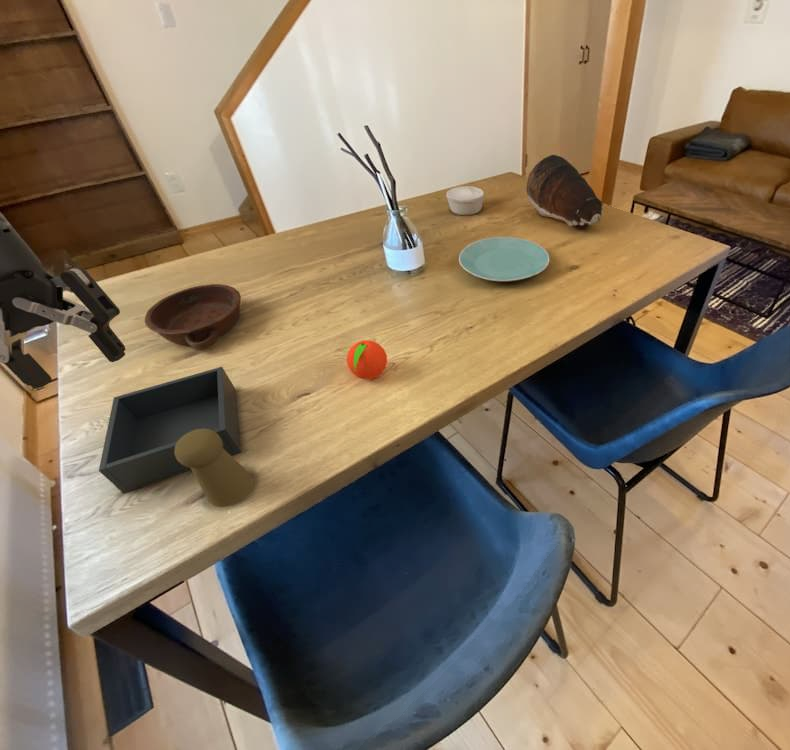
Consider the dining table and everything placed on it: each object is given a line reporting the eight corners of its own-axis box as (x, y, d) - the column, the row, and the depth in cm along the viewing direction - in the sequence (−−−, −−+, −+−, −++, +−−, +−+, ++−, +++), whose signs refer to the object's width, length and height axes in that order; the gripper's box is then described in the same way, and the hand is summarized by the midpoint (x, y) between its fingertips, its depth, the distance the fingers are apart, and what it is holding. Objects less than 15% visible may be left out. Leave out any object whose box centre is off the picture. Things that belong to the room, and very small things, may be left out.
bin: (123, 493, 62) (98, 470, 58) (133, 420, 72) (113, 397, 69) (241, 452, 67) (225, 429, 63) (235, 389, 77) (222, 366, 74)
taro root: (584, 199, 108) (531, 153, 121) (565, 252, 120) (519, 205, 132) (627, 195, 115) (572, 152, 128) (605, 245, 127) (557, 201, 139)
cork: (241, 507, 60) (203, 459, 53) (198, 506, 60) (154, 458, 53) (260, 470, 65) (227, 421, 57) (220, 470, 65) (182, 421, 57)
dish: (239, 290, 102) (230, 271, 99) (259, 337, 89) (249, 317, 85) (154, 314, 95) (140, 295, 92) (161, 370, 82) (146, 349, 78)
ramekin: (491, 209, 135) (491, 191, 131) (466, 220, 129) (465, 202, 125) (466, 200, 140) (465, 183, 137) (440, 210, 134) (438, 193, 131)
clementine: (380, 393, 76) (371, 362, 71) (343, 389, 77) (331, 358, 72) (395, 363, 82) (388, 333, 77) (361, 359, 83) (351, 329, 78)
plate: (539, 243, 117) (540, 233, 115) (557, 286, 101) (558, 275, 99) (457, 249, 115) (456, 239, 114) (462, 294, 99) (461, 283, 97)
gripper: (-156, 267, 39) (-5, 410, 47) (8, 216, 41) (128, 362, 49) (-81, 252, 46) (40, 379, 54) (58, 208, 47) (156, 339, 55)
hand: (82, 371), depth 51 cm, fingers open, 8 cm apart
